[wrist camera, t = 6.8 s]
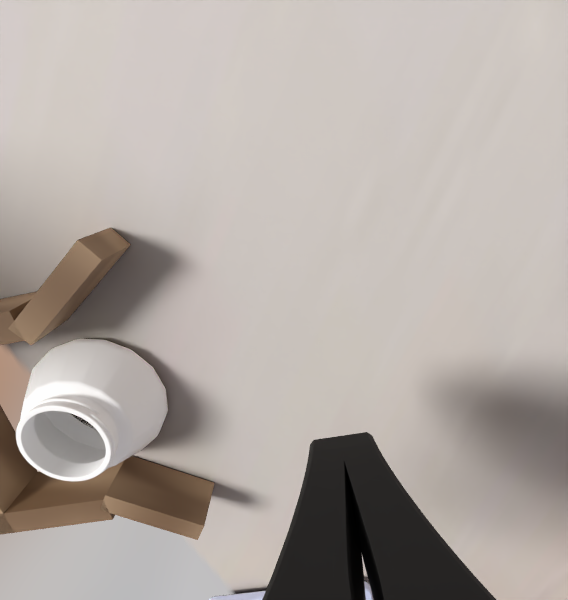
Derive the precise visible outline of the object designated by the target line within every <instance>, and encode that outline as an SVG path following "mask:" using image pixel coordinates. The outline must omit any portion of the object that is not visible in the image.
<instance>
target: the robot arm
mask: <svg viewBox="0 0 568 600" xmlns="http://www.w3.org/2000/svg"><path fill="white" fill-rule="evenodd" d="M361 552H362V554H361ZM362 556H363V560H364V564H365V568H366V571H367V575H368V579H369V583H370V585H369V584H368V583H367V582H365V581H364V575H363V564H362ZM371 591H372V592H371ZM372 594H373V598H374V600H496V599H495V598H494V597H493V596H492V595H491V593H490V592H489V591H488V590H487V589H486V588H485V587H484V586H483V585H482V584H481V583H480V582H479V580H478V579H477V578H476V577H475V576H474V575H473V574H472V573H471V571H470V570H469V569H468V568H467V567H466V566H465V565H464V563H463V562H462V561H461V560H460V559H459V558H458V556H457V555H456V554H455V553H454V552H453V550H452V549H451V548H450V547H449V546H448V544H447V543H446V542H445V541H444V540H443V538H442V537H441V536H440V535H439V534H438V532H437V531H436V530H435V529H434V527H433V526H432V525H431V524H430V522H429V521H428V520H427V518H426V517H425V516H424V515H423V513H422V512H421V511H420V509H419V508H418V507H417V505H416V504H415V503H414V501H413V500H412V499H411V497H410V496H409V494H408V493H407V492H406V490H405V489H404V488H403V486H402V485H401V483H400V482H399V480H398V479H397V478H396V476H395V474H394V473H393V471H392V470H391V468H390V467H389V465H388V464H387V462H386V461H385V459H384V457H383V456H382V454H381V452H380V450H379V449H378V447H377V445H376V443H375V441H374V439H373V436H372V435H370V434H369V433H367V432H365V433H358V434H351V435H345V436H338V437H331V438H324V439H318V440H314V441H313V442H312V443H311V444H310V450H309V457H308V463H307V468H306V472H305V477H304V481H303V484H302V488H301V492H300V496H299V499H298V502H297V506H296V509H295V512H294V515H293V519H292V522H291V525H290V528H289V531H288V534H287V537H286V540H285V542H284V545H283V548H282V550H281V553H280V556H279V559H278V561H277V564H276V567H275V569H274V572H273V575H272V577H271V580H270V582H269V584H268V587H267V589H266V591H259V592H250V593H241V594H232V595H223V596H215V597H211V598H210V599H209V600H373V598H372Z"/></svg>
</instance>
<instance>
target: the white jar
mask: <svg viewBox="0 0 568 600" xmlns="http://www.w3.org/2000/svg"><path fill="white" fill-rule="evenodd" d="M167 412H168V406H167V397H166V389H165V387H164V385H163V384H162V382H161V380H160V378H159V377H158V375H157V373H156V372H155V370H154V368H153V367H152V366H151V365H150V364H148V363H147V362H146V361H145V360H143V359H142V358H141V357H140V356H139V355H137V354H136V353H135V352H134V351H132V350H131V349H128V348H126V347H123V346H120V345H118V344H115V343H112V342H110V341H107V340H101V339H75V340H73V341H70V342H67V343H65V344H62V345H59V346H57V347H54V348H53V349H51V350H50V351H49V352H48V353H47V354H46V355H45V356H44V357H43V358H42V359H41V360H40V361H39V362H38V363H37V365H36V366H35V367H34V368H33V369H32V372H31V376H30V380H29V383H28V387H27V391H26V395H25V398H24V402H23V407H22V412H21V416H20V419H21V420H20V422H19V423H18V426H17V429H16V441H17V445H18V448H19V450H20V452H21V454H22V455H23V457H24V458H25V459H26V460H27V461H28V462H29V463H30V464H31V465H32V466H33V467H34V468H36V469H37V470H39V471H40V472H42V473H43V474H45V475H48V476H50V477H53V478H55V479H59V480H64V481H84V480H88V479H91V478H94V477H96V476H98V475H99V474H101V473H102V472H104V471H105V470H106V469H107V468H110V467H113V466H116V465H117V464H119V463H121V462H122V461H124V460H126V459H127V458H129V457H131V456H132V455H134V454H136V453H137V452H139V451H141V450H142V449H143V448H144V447H145V446H147V445H148V444H149V443H150V442H151V441H152V440H154V439H155V438H156V437H157V436H158V434H159V432H160V430H161V427H162V425H163V422H164V420H165V417H166V415H167ZM70 413H71V414H74V415H76V416H79V417H81V418H83V419H84V420H86V421H87V422H89V423H90V424H91V425H92V426H93V427H94V428H95V429H94V428H92V427H89V426H86V425H84V424H83V423H82V422H80V421H79V420H78V419H76V418H75V417H74V416H72V415H71V414H70Z"/></svg>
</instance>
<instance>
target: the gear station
mask: <svg viewBox="0 0 568 600" xmlns="http://www.w3.org/2000/svg"><path fill="white" fill-rule="evenodd" d="M130 245H131V244H129V243H128V242H127V241H126V240H125V239H124V238H122V237H121V236H120V235H119V234H118V233H117V232H115V231H114V230H113V229H112V228H108V229H106V230H103V231H100V232H98V233H95V234H92V235H90V236H87V237H84V238H82V239H79V240H77V241H76V243H75V244H74V245H73V247H72V248H71V249H70V250H69V252H68V253H67V254H66V256H65V257H64V258H63V259H62V261H61V262H60V263H59V264H58V266H57V267H56V268H55V270H54V271H53V272H52V273H51V275H50V276H49V277H48V279H47V280H46V281H45V282H44V284H43V285H42V286H41V287H40V289H39V290H38V291H37V292H33V293H28V294H23V295H18V296H13V297H8V298H3V299H0V345H4V344H9V343H15V342H20V341H26V342H27V343H28V344H30V345H33V344H34V343H35V342H37V341H38V340H40V339H41V338H43V337H44V336H45V335H47V334H48V333H50V332H51V331H52V330H54V329H55V328H57V327H58V326H59V325H61V324H62V323H64V322H65V321H66V320H68V319H69V318H70V316H71V315H72V314H73V313H74V312H75V310H76V309H77V308H78V307H79V306H80V304H81V303H82V302H83V301H84V300H85V299H86V297H87V296H88V295H89V294H90V293H91V291H92V290H93V289H94V288H95V287H96V285H97V284H98V283H99V282H100V281H101V280H102V278H103V277H104V276H105V275H106V274H107V272H108V271H109V270H110V269H111V268H112V266H113V265H114V264H115V263H116V262H117V260H118V259H119V258H120V257H121V256H122V255H123V253H124V252H125V251H126V250H127V249H128V247H129V246H130ZM213 487H214V483H213V482H210V481H207V480H204V479H201V478H198V477H195V476H192V475H189V474H186V473H183V472H180V471H177V470H173V469H170V468H167V467H164V466H161V465H158V464H155V463H152V462H149V461H146V460H143V459H140V458H137V457H134V456H131V457H129V458H127V459H126V460H124V461H122V462H121V463H119V464H117V465H116V466H113V467H110V468H107V469H106V470H105V471H104V472H102V473H101V474H99V475H98V476H96V477H94V478H91V479H88V480H84V481H64V480H59V479H55V478H53V477H50V476H48V475H45V474H43V473H42V472H37V470H36V468H34V467H33V466H32V465H31V464H30V463H29V462H28V461H27V460H26V459H25V458H24V457H23V455H22V454H21V452H20V450H19V448H18V445H17V441H16V432H15V431H14V429H13V427H12V425H11V423H10V422H9V420H8V418H7V416H6V415H5V413H4V411H3V409H2V407H1V406H0V534H6V533H15V532H22V531H29V530H36V529H44V528H51V527H59V526H66V525H74V524H82V523H88V522H97V521H104V520H112V519H113V518H114V516H115V515H118V516H121V517H124V518H128V519H131V520H134V521H137V522H141V523H144V524H147V525H151V526H154V527H157V528H160V529H164V530H167V531H170V532H173V533H177V534H180V535H183V536H186V537H190V538H193V539H196V540H198V538H199V536H200V534H201V531H202V529H203V527H204V524H205V520H206V516H207V512H208V508H209V504H210V499H211V495H212V491H213Z"/></svg>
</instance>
